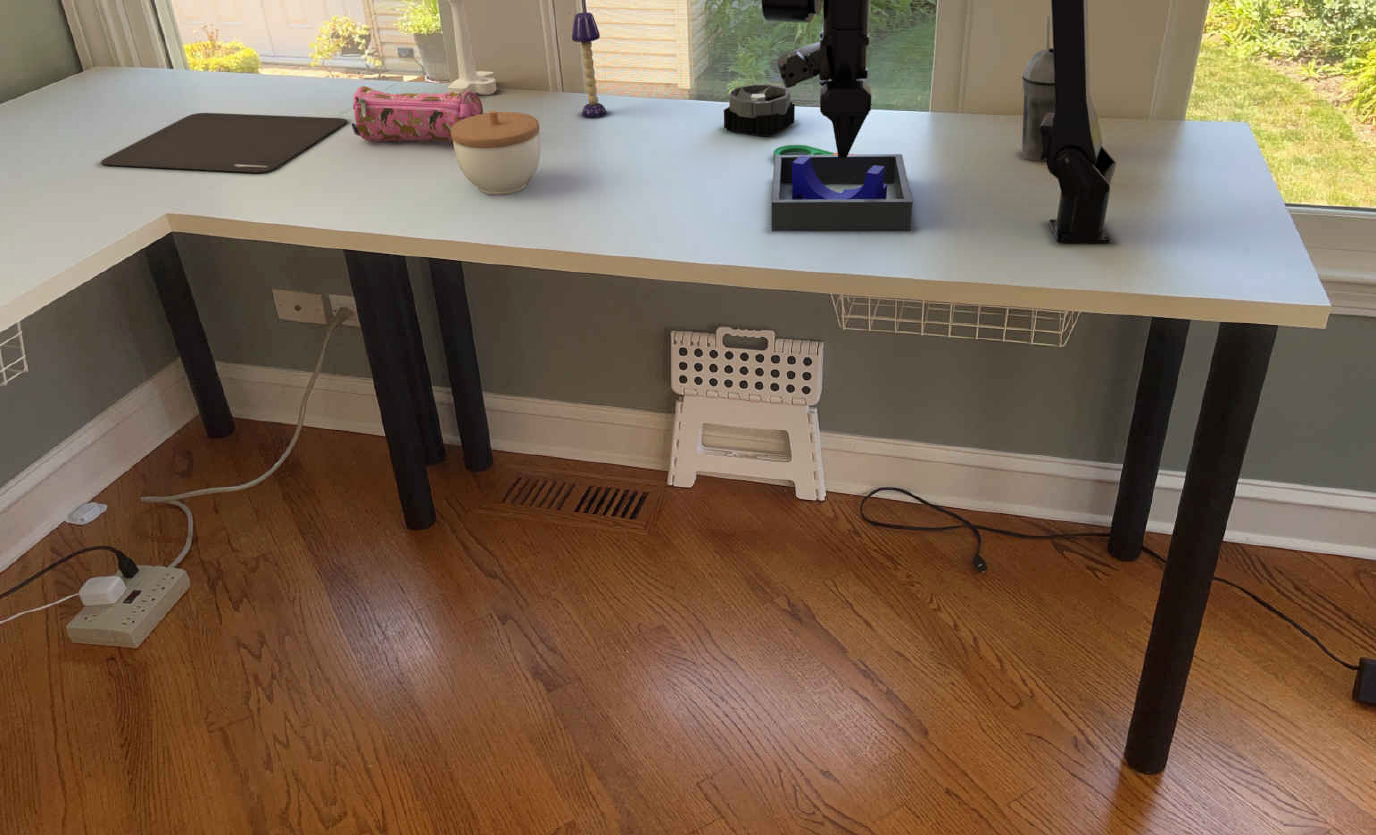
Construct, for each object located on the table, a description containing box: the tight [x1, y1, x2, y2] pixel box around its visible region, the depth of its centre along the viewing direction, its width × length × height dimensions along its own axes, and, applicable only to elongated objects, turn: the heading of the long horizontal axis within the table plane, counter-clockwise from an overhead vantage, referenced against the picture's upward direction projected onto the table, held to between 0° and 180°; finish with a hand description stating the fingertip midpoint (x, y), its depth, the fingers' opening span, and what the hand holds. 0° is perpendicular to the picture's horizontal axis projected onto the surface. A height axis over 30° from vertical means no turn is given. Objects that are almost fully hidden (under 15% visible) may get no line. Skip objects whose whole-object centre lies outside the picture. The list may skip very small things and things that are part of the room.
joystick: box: [446, 0, 497, 96], centre depth 199 cm, size 11×8×20 cm
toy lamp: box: [571, 11, 607, 119], centre depth 186 cm, size 5×5×17 cm
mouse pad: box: [100, 112, 348, 174], centre depth 185 cm, size 32×27×1 cm
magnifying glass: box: [773, 144, 859, 157], centre depth 165 cm, size 15×6×2 cm, turn 66°
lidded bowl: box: [451, 110, 541, 195], centre depth 160 cm, size 13×13×11 cm
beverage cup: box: [1021, 16, 1055, 162], centre depth 159 cm, size 7×7×20 cm
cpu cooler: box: [723, 83, 796, 137], centre depth 179 cm, size 10×6×10 cm
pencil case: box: [351, 85, 484, 143], centre depth 179 cm, size 21×9×9 cm, turn 74°
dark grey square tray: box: [770, 153, 913, 232], centre depth 150 cm, size 18×18×4 cm
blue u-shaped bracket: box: [791, 156, 888, 200], centre depth 150 cm, size 12×4×6 cm, turn 62°
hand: (841, 145), depth 147 cm, fingers open, 9 cm apart
